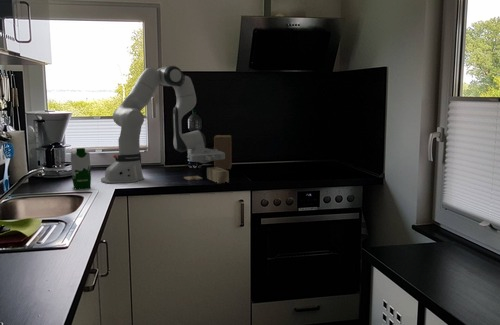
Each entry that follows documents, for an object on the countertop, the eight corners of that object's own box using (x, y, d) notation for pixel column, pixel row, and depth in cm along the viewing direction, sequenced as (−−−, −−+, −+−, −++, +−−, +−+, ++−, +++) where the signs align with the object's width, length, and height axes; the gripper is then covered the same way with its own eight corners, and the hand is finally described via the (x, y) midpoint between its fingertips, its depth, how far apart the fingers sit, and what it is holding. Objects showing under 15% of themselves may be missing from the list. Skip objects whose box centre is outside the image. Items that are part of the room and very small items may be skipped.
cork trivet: (188, 180, 263) (188, 179, 263) (183, 178, 270) (183, 176, 270) (202, 179, 267) (202, 178, 267) (197, 176, 274) (197, 175, 274)
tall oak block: (206, 178, 269) (218, 183, 256) (206, 167, 268) (218, 172, 255) (216, 177, 272) (228, 182, 258) (216, 166, 271) (228, 171, 257)
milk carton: (74, 190, 239) (72, 149, 236) (71, 186, 247) (69, 147, 244) (92, 188, 243) (90, 148, 240) (89, 185, 251) (87, 146, 248)
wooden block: (230, 169, 298) (230, 136, 295) (214, 169, 298) (214, 136, 295) (231, 166, 308) (231, 135, 305) (215, 166, 308) (215, 135, 305)
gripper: (185, 151, 275) (194, 154, 263) (219, 148, 284) (229, 151, 272) (186, 162, 276) (194, 165, 264) (219, 159, 285) (229, 162, 273)
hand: (212, 158), depth 268 cm, fingers closed
